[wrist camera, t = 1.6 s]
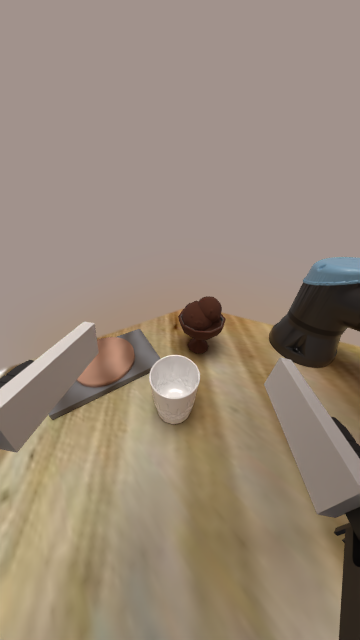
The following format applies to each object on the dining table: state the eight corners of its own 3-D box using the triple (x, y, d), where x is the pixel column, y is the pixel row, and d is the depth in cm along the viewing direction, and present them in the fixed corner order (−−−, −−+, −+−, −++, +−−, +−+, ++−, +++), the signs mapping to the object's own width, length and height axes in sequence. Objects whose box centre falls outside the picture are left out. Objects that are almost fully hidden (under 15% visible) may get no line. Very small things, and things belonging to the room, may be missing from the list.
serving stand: (140, 332, 48) (139, 324, 46) (162, 366, 39) (162, 357, 37) (51, 364, 38) (45, 356, 37) (52, 419, 29) (44, 411, 27)
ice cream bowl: (208, 330, 50) (216, 284, 41) (225, 358, 41) (239, 307, 32) (174, 335, 48) (174, 287, 39) (184, 365, 39) (188, 314, 30)
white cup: (149, 394, 33) (144, 362, 27) (184, 381, 36) (187, 349, 30) (160, 436, 28) (157, 407, 22) (202, 417, 30) (209, 387, 24)
